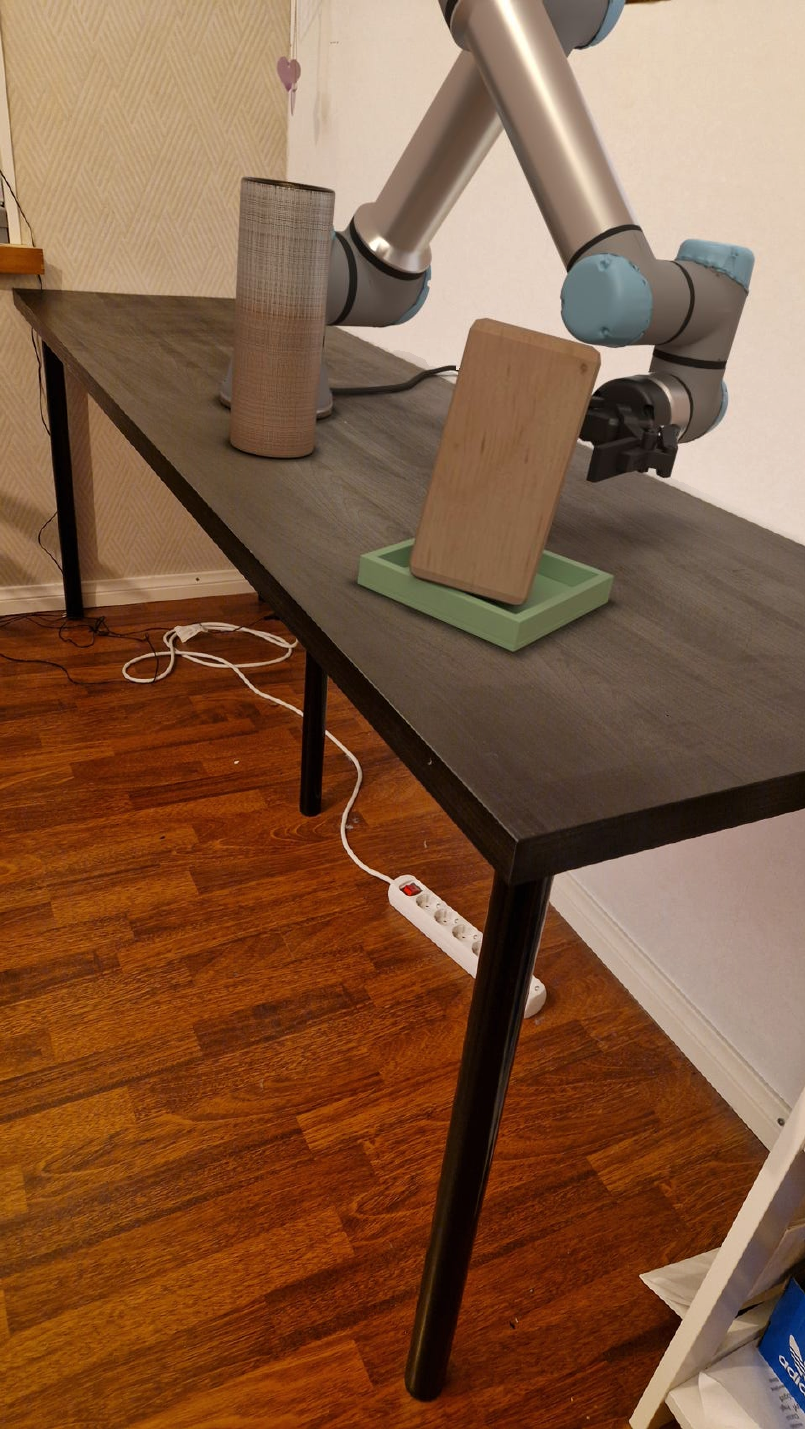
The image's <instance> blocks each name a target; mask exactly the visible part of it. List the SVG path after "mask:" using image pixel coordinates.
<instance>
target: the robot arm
mask: <svg viewBox="0 0 805 1429" xmlns="http://www.w3.org/2000/svg"><path fill="white" fill-rule="evenodd" d="M626 1H627V0H437V2H438V4H439V8H440V11H441V13H442V16H443V19H444V21H445V24H446V26H447V28H448V30H449V33H450V35H451V37H452V40H453V42H454V43H455V44H456V46H457V47H459V48H460V49H461V51H460V52H459V54H458V56H457V58H456V60H455V62H454V63H453V64H452V66H451V68H450V69H449V71H448V73H447V75H446V77H445V79H444V80H443V82H442V84H441V86H440V87H439V89H438V91H437V93H436V94H435V96H434V98H433V100H432V102H431V103H430V105H429V107H428V109H427V110H426V112H425V114H424V115H423V117H422V119H421V121H420V122H419V124H418V126H417V128H416V129H415V131H414V133H413V135H412V137H411V139H410V140H409V142H408V143H407V145H406V147H405V149H404V150H403V153H402V154H401V156H400V157H399V159H398V161H397V163H396V164H395V166H394V168H393V169H392V171H391V173H390V175H389V176H388V179H387V180H386V181H385V184H384V186H383V187H382V189H381V191H380V193H379V194H378V196H377V198H376V200H375V201H372V202H371V201H370V202H365V203H363V204H360V205H359V206H358V207H357V209H356V210H355V212H354V214H353V216H352V217H351V219H350V221H349V223H348V225H347V226H346V228H345V229H344V230H343V231H342V230H341V231H340V230H335V226H334V224H333V230H332V241H331V253H330V264H329V276H328V287H327V299H326V310H325V322H324V333H323V345H322V357H321V368H320V380H319V391H318V403H317V414H316V420H318V419H323V418H326V417H328V416H330V415H331V414H332V412H333V411H332V410H333V402H334V401H333V395H340V396H341V395H342V396H343V395H363V394H364V395H365V394H376V393H377V394H378V393H387V392H396V391H401V390H404V389H408V388H411V387H413V386H414V385H415V384H416V383H418V382H419V381H421V380H422V379H423V378H425V377H427V376H433V375H437V374H441V373H445V372H450V371H451V372H457V373H458V372H459V370H456V366H457V365H456V364H450V365H444V366H440V367H436V368H431V369H426V370H423V371H421V372H419V373H418V374H416V375H415V376H413V377H412V378H411V379H410V380H408V381H406V382H402V383H396V384H387V385H376V386H363V387H330V384H329V376H328V370H327V364H326V360H325V359H326V358H325V353H324V352H325V339H326V338H325V337H326V330H327V329H326V328H327V327H352V328H353V327H355V328H356V327H358V328H374V329H375V328H378V329H383V328H387V327H391V326H392V327H393V326H400V325H402V324H405V323H406V322H408V321H410V320H412V319H413V318H414V317H415V316H416V315H417V314H418V313H419V312H420V311H421V309H423V308H422V307H423V306H424V305H425V303H426V300H427V299H428V296H429V293H430V289H431V288H430V286H428V282H429V281H431V280H432V265H431V263H432V258H433V254H432V249H431V245H430V244H431V243H432V241H433V239H434V237H435V236H436V235H437V233H438V231H439V230H440V228H441V227H442V225H443V223H444V222H445V221H446V219H447V218H448V216H449V215H450V213H451V212H452V210H453V208H454V207H455V205H456V204H457V202H458V200H460V198H461V196H462V194H463V193H464V191H465V190H466V189H467V187H468V185H469V184H470V182H471V181H472V179H473V177H474V176H475V174H476V173H477V172H478V170H479V168H480V167H481V165H482V164H483V162H484V161H485V159H486V158H487V156H488V155H489V153H490V152H491V150H492V148H493V147H494V145H495V144H496V142H497V141H498V139H499V137H500V136H501V134H502V133H503V131H504V132H505V133H506V136H507V138H508V141H509V143H510V145H511V148H512V149H513V152H514V154H515V156H516V159H517V161H518V164H519V166H520V168H521V171H522V173H523V175H524V178H525V180H526V182H527V184H528V187H529V189H530V191H531V193H532V196H533V197H534V200H535V202H536V204H537V207H538V210H539V211H540V214H541V216H542V219H543V221H544V223H545V226H546V227H547V231H548V232H549V234H550V237H551V239H552V241H553V244H554V246H555V249H556V250H557V253H558V255H559V257H560V260H561V262H562V265H563V267H564V269H565V271H566V273H567V275H566V276H565V278H564V280H563V283H562V286H561V289H560V296H559V299H560V301H561V303H560V317H561V320H562V323H563V325H564V327H565V329H566V330H567V332H568V333H569V334H570V335H571V336H572V337H573V338H574V339H575V340H577V341H578V342H580V343H582V344H586V345H590V346H597V347H606V348H608V349H609V348H610V349H618V348H625V347H633V346H634V347H635V346H636V347H637V346H653V350H652V356H651V360H650V364H649V367H648V372H644V373H638V374H635V375H631V376H625V377H624V376H623V377H617V378H613V379H610V380H607V381H606V382H604V383H602V384H601V385H600V386H599V387H598V388H596V390H595V391H593V392H592V395H591V398H590V402H589V405H588V408H587V411H586V415H585V418H584V421H583V424H582V428H581V431H580V434H579V437H578V440H580V441H582V442H586V443H589V442H590V444H591V445H592V446H593V448H592V453H591V457H590V462H589V466H588V471H587V475H586V478H585V481H587V482H590V483H593V484H596V483H599V482H602V481H605V480H609V479H612V478H615V477H618V476H621V475H625V474H627V473H633V472H637V473H639V474H644V473H645V474H646V473H648V472H649V469H652V470H655V474H656V476H658V477H659V478H663V479H668V478H671V476H672V473H673V469H674V466H675V462H676V458H677V454H678V451H679V445H680V444H688V443H691V442H694V441H695V440H699V439H701V438H702V437H703V436H705V435H707V434H708V433H710V432H712V431H713V430H714V429H715V428H717V426H719V425H720V423H721V422H722V421H723V419H724V418H725V415H726V413H727V410H728V407H729V406H728V405H729V393H728V389H727V388H728V387H727V384H726V382H725V380H724V376H725V373H726V369H727V363H728V360H729V357H730V354H731V351H732V348H733V344H734V340H735V337H736V334H737V331H738V328H739V324H740V320H741V317H742V315H743V314H742V313H743V310H744V308H745V304H746V301H747V298H748V296H749V294H750V284H751V280H752V275H753V270H754V267H755V262H756V261H755V259H756V257H755V254H754V252H753V250H751V249H750V248H749V247H745V246H743V245H737V244H731V243H726V242H720V241H714V240H708V239H707V240H706V239H698V238H687V239H685V240H683V241H682V242H681V244H680V245H679V248H678V251H677V254H676V257H675V258H674V259H673V260H668V259H659V258H656V256H655V254H654V252H653V251H652V248H651V246H650V244H649V241H648V239H647V237H646V235H645V233H644V230H643V229H642V227H641V225H640V222H639V220H638V217H637V214H636V213H635V211H634V209H633V207H632V204H631V202H630V200H629V197H628V195H627V193H626V190H625V188H624V186H623V184H622V181H621V178H620V176H619V175H618V171H617V170H616V167H615V165H614V163H613V161H612V159H611V156H610V154H609V152H608V149H607V147H606V145H605V142H604V140H603V137H602V135H601V134H600V131H599V129H598V126H597V124H596V122H595V120H594V117H593V115H592V112H591V111H590V108H589V106H588V103H587V101H586V99H585V97H584V94H583V92H582V90H581V87H580V85H579V83H578V81H577V78H576V76H575V74H574V72H573V69H572V67H571V65H570V63H569V59H568V58H569V56H570V54H571V53H572V51H573V50H578V51H583V50H587V49H588V48H590V47H595V46H597V45H599V44H600V43H602V42H603V41H604V40H605V39H606V38H607V37H608V36H609V34H610V33H612V31H613V29H614V28H615V26H616V25H617V23H618V21H619V19H620V17H621V15H622V13H623V10H624V8H625V5H626ZM233 351H234V349H233ZM233 351H232V353H231V356H230V358H229V359H230V360H229V362H228V366H227V370H226V374H225V377H223V378H222V380H221V384H220V389H219V401H220V403H222V405H223V406H225V407H227V408H229V409H231V398H232V375H233Z"/></svg>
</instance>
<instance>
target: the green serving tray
mask: <svg viewBox="0 0 805 1429" xmlns="http://www.w3.org/2000/svg"><path fill="white" fill-rule="evenodd" d="M414 541H415V537H413V538H409V539H407V540H404V541H401V542H397V543H394V544H391V545H388V546H385V547H382V548H379V549H376V550H372V551H369V552H366V553H363V554H360V557H359V565H358V574H357V581H356V582H357V584H358V585H360V586H363V587H365V588H366V589H369V590H372V591H373V592H376V593H377V594H380V595H383V596H385V597H387V598H388V599H389V598H390V599H391V600H394V601H396V602H398V603H401V604H403V605H405V606H407V607H409V608H412V609H415V610H416V611H420V612H421V613H424V614H426V615H428V616H430V617H433V618H435V619H437V620H439V621H442V622H445V623H446V624H448V625H451V626H452V627H453V626H454V627H455V628H458V629H460V630H462V631H465V632H467V633H469V634H471V635H474V636H476V637H478V638H480V639H483V640H485V641H487V642H488V643H489V642H490V643H492V644H494V645H496V646H498V647H501V648H503V649H505V650H508V651H509V652H512V653H515V652H516V651H518V650H520V649H522V648H524V647H526V646H528V645H530V644H531V643H533V642H535V641H537V640H539V639H541V638H543V637H545V636H547V635H548V634H550V633H552V632H554V631H556V630H558V629H560V628H562V627H564V626H565V625H567V624H570V623H571V622H573V621H574V620H577V619H578V618H580V617H582V616H584V615H586V614H588V613H590V612H592V611H595V610H596V609H597V608H599V607H601V606H603V605H605V604H607V603H608V602H609V598H610V593H611V590H612V587H613V583H614V579H615V575H613V574H611V573H609V572H606V571H603V570H600V569H598V568H595V567H592V566H590V565H587V564H585V563H582V562H579V561H575V560H573V559H570V558H568V557H565V556H562V555H560V554H557V553H555V552H552V551H550V550H546V549H544V550H543V554H542V557H541V560H540V563H539V566H538V570H537V573H536V576H535V579H534V583H533V586H532V589H531V592H530V596H529V598H528V599H527V601H526V602H525V603H524V604H523V605H520V606H511V605H507V604H504V603H501V602H497V601H494V600H490V599H487V598H484V597H480V596H477V595H474V594H470V593H467V592H463V591H460V590H457V589H453V588H450V587H446V586H443V585H440V584H436V583H433V582H429V581H426V580H423V579H419V578H417V577H416V576H414V575H413V574H412V573H411V572H410V568H409V560H410V556H411V552H412V548H413V544H414Z"/></svg>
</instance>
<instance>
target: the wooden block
mask: <svg viewBox="0 0 805 1429" xmlns="http://www.w3.org/2000/svg"><path fill="white" fill-rule="evenodd" d="M460 360H461V361H460V363H459V367H460V368H459V372H457V376H456V380H455V383H454V388H453V391H452V395H451V399H450V401H449V402H450V403H449V406H448V407H449V408H448V410H447V414H446V418H445V423H444V426H443V428H442V433H441V437H440V441H439V445H438V449H437V453H436V457H435V460H434V464H433V468H432V471H431V476H430V480H429V484H428V487H427V491H426V493H425V494H426V495H425V498H424V502H423V506H422V510H421V513H420V518H419V522H418V526H417V530H416V533H415V536H414V538H415V541H414V544H413V548H412V552H411V556H410V560H409V568H410V572H411V573H412V574H413V575H414V576H416V577H417V578H419V579H423V580H426V581H429V582H433V583H436V584H440V585H443V586H446V587H450V588H453V589H457V590H460V591H463V592H467V593H470V594H474V595H477V596H480V597H484V598H487V599H490V600H494V601H497V602H501V603H504V604H507V605H511V606H520V605H523V604H524V603H525V602H526V601H527V599H528V598H529V596H530V592H531V589H532V586H533V583H534V579H535V576H536V573H537V570H538V566H539V563H540V560H541V557H542V554H543V550H545V547H546V545H547V544H546V543H547V540H548V537H549V534H550V531H551V529H552V528H551V527H552V524H553V521H554V517H555V515H556V511H557V508H558V505H559V502H560V500H561V494H562V491H563V488H564V485H565V482H566V479H567V476H568V473H569V470H570V467H571V463H572V459H573V457H574V453H575V450H576V447H577V443H578V440H579V438H578V437H579V434H580V431H581V428H582V424H583V421H584V418H585V415H586V411H587V408H588V405H589V402H590V398H591V395H592V394H593V393H594V389H595V386H596V382H597V378H598V376H599V372H600V370H601V366H602V356H601V352H600V351H599V350H598V349H596V348H595V347H594V345H591V344H586V343H583V342H579V341H575V340H571V339H567V338H564V337H560V336H556V335H552V334H549V333H545V332H541V331H538V330H534V329H530V328H526V327H523V326H519V325H515V324H512V323H508V322H504V321H500V320H496V319H492V318H489V317H483V318H477V319H475V320H474V321H473V323H472V324H471V326H470V327H469V330H468V333H467V337H466V342H465V346H464V349H463V353H462V356H461V359H460Z"/></svg>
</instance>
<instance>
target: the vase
mask: <svg viewBox="0 0 805 1429" xmlns="http://www.w3.org/2000/svg"><path fill="white" fill-rule="evenodd" d="M239 192H240V193H239V211H238V212H239V216H238V237H237V258H236V260H237V261H236V262H237V263H236V285H235V304H234V305H235V306H234V307H235V310H234V327H233V328H234V329H233V330H234V331H233V350H234V351H232V353H233V375H232V398H231V408H230V421H229V422H230V423H229V436H230V438H229V442H230V444H231V446H232V447H233V448H235V449H236V450H238V451H241V452H243V453H246V454H249V455H254V456H258V457H263V458H269V459H283V460H284V459H299V458H303V457H307V456H309V455H311V453H313V450H314V444H315V436H316V426H317V425H316V423H317V419H316V414H317V403H318V391H319V380H320V368H321V357H322V345H323V333H324V322H325V310H326V299H327V287H328V276H329V264H330V253H331V241H332V230H333V225H334V219H335V218H334V216H335V208H336V207H335V204H336V191H335V190H334V189H332V188H328V187H322V186H318V185H312V184H306V183H300V182H294V181H287V180H280V179H274V178H273V179H272V178H264V177H257V176H256V177H255V176H242V177H241V179H240V191H239Z"/></svg>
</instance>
